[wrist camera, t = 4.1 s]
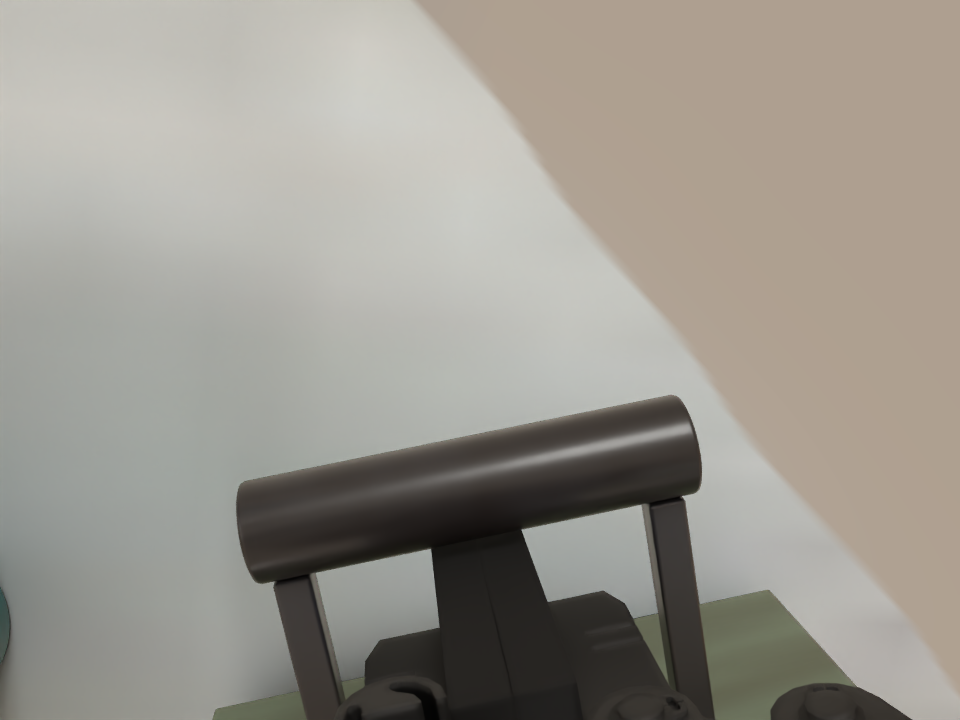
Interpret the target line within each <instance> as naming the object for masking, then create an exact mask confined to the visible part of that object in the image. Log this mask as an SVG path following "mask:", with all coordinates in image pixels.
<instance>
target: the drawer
mask: <svg viewBox="0 0 960 720" xmlns="http://www.w3.org/2000/svg"><path fill="white" fill-rule="evenodd" d="M701 481H702V462H701V454H700V448H699V443H698V439H697V435H696V432H695V428H694V425H693V423H692V420H691V417H690V415H689V413H688V411H687V409H686V407H685V405H684V404H683V402H682V401H681V399H680V398H679V397H677V396H674V395H668V396H663V397H658V398H653V399H648V400H643V401H638V402H633V403H628V404H623V405H618V406H613V407H608V408H604V409H599V410H594V411H589V412H584V413H579V414H574V415H569V416H564V417H559V418H554V419H549V420H544V421H539V422H534V423H529V424H525V425H520V426H515V427H510V428H505V429H500V430H495V431H490V432H485V433H480V434H475V435H470V436H465V437H460V438H455V439H450V440H446V441H441V442H436V443H431V444H426V445H421V446H416V447H411V448H406V449H401V450H396V451H391V452H386V453H381V454H376V455H371V456H367V457H362V458H357V459H352V460H347V461H342V462H337V463H332V464H327V465H322V466H317V467H312V468H307V469H302V470H297V471H292V472H288V473H283V474H278V475H273V476H268V477H263V478H258V479H253V480H248V481H244V482H243V483H241V484H240V486H239V488H238V492H237V500H236V516H237V527H238V534H239V540H240V545H241V549H242V553H243V557H244V560H245V563H246V566H247V568H248V571H249V573H250V574H251V576H252V578H253V580H254V581H255V582H257V583H260V584H264V583H269V582H274V581H275V583H274V587H273V588H274V592H275V596H276V600H277V604H278V608H279V612H280V616H281V620H282V624H283V628H284V632H285V636H286V640H287V644H288V648H289V652H290V656H291V660H292V664H293V668H294V672H295V676H296V680H297V684H298V688H299V691H297V692H292V693H288V694H283V695H278V696H274V697H269V698H265V699H260V700H255V701H251V702H246V703H242V704H237V705H232V706H228V707H223V708H218V709H216V711H215V714H214V717H213V720H333V719H334V717H335V714H336V712H337V709H338V707H339V706H340V705H341V704H342V703H343V702H344V701H345V700H346V699H347V698H348V697H349V696H350V695H351V694H353V693H355V692H357V691H358V690H360V689H362V688H364V686H365V682H364V680H365V677H362V678H357V679H352V680H348V681H343V682H341V678H340V673H339V669H338V665H337V661H336V657H335V652H334V648H333V644H332V640H331V636H330V631H329V627H328V623H327V619H326V615H325V611H324V606H323V602H322V598H321V594H320V590H319V585H318V581H317V577H316V573H317V572H322V571H326V570H331V569H336V568H341V567H345V566H350V565H355V564H360V563H365V562H369V561H374V560H379V559H384V558H389V557H393V556H398V555H403V554H408V553H412V552H417V551H422V550H427V549H432V548H436V547H441V546H446V545H451V544H455V543H460V542H465V541H470V540H475V539H479V538H484V537H489V536H494V535H499V534H503V533H508V532H513V531H518V530H522V529H527V528H532V527H537V526H542V525H546V524H551V523H556V522H561V521H565V520H570V519H575V518H580V517H585V516H589V515H594V514H599V513H604V512H609V511H613V510H618V509H623V508H628V507H632V506H637V505H642V510H643V516H644V523H645V530H646V536H647V543H648V550H649V556H650V563H651V570H652V576H653V583H654V590H655V596H656V603H657V610H658V614H653V615H648V616H644V617H639V618H635V619H633V620H634V621H635V625H637V627H638V629H639V631H640V632H641V634H642V636H643V640H645V642H646V644H647V645H648V647H649V649H650V651H651V653H652V655H653V656H654V658H655V660H656V662H657V664H658V666H659V667H660V669H661V671H662V673H663V675H664V677H665V679H666V680H667V682H668V684H669V686H670V688H671V689H672V690H675V691H677V692H679V693H681V694H684V695H686V696H687V697H688V698H689V699H690V700H691V701H692V702H693V703H694V704H695V705H696V706H697V708H698V710H699V712H700V713H701V715H702V716H704V717H706V718H711V719H715V720H771V714H770V710H771V708H772V706H773V705H774V703H775V702H776V700H777V698H778V697H780V696H781V695H783V694H785V693H786V692H788V691H789V690H791V689H793V688H796V687H800V686H804V685H808V684H812V683H839V684H844V685H848V686H853V687H857V686H856V685H855V684H854V683H853V682H852V681H851V680H850V679H849V678H848V677H847V675H846V674H845V673H844V672H843V671H842V670H841V669H840V668H839V667H838V665H837V664H836V663H835V662H834V661H833V660H832V659H831V658H830V657H829V656H828V654H827V653H826V652H825V651H824V650H823V649H822V648H821V647H820V646H819V644H818V643H817V642H816V641H815V640H814V639H813V638H812V637H811V636H810V635H809V633H808V632H807V631H806V630H805V629H804V628H803V627H802V626H801V625H800V623H799V622H798V621H797V620H796V619H795V618H794V617H793V616H792V615H791V614H790V612H789V611H788V610H787V609H786V608H785V607H784V606H783V605H782V604H781V602H780V601H779V600H778V599H777V598H776V597H775V596H774V595H773V594H772V593H771V591H770V590H764V591H759V592H755V593H750V594H746V595H741V596H736V597H732V598H727V599H722V600H718V601H713V602H709V603H704V604H699V597H698V590H697V583H696V576H695V568H694V561H693V554H692V547H691V539H690V532H689V525H688V518H687V511H686V503H685V500H684V499H683V498H682V496H685V495H690V494H694V493H696V492H697V491H698V490H699V489H700V486H701Z"/></svg>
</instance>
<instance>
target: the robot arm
mask: <svg viewBox="0 0 960 720" xmlns="http://www.w3.org/2000/svg"><path fill="white" fill-rule="evenodd" d="M431 552H432V561H433V570H434V579H435V588H436V597H437V606H438V616H439V625H440V628H436V629H431V630H426V631H422V632H417V633H412V634H407V635H403V636H398V637H393V638H388V639H383V640H380V641H379V642H378V644H377V645H376V646H375V648H374V649H373V651H372V652H371V654H370V655H369V657H368V658H367V660H366V661H365V680H364V682H365V686H364V688H362V689H360V690H358V691H357V692H355V693H353V694H351V695H350V696H349V697H348V698H347V699H346V700H345V701H344V702H343V703H342V704H341V705H340V706H339V707H338V709H337V712H336V714H335V717H334V719H333V720H715V719H711V718H706V717H704V716H702V715H701V713H700V712H699V710H698V708H697V706H696V705H695V704H694V703H693V702H692V701H691V700H690V699H689V698H688V697H687V696H686V695H684V694H681V693H679V692H677V691H675V690H672V689H671V688H670V686H669V684H668V682H667V680H666V679H665V677H664V675H663V673H662V671H661V669H660V667H659V666H658V664H657V662H656V660H655V658H654V656H653V655H652V653H651V651H650V649H649V647H648V645H647V644H646V642H645V640H643V636H642V634H641V632H640V631H639V629H638V627H637V625H635V621H634V620H633V618H632V616H631V614H630V612H629V610H628V609H627V607H626V605H625V603H623V602H621V601H620V600H618V599H616V598H615V597H613V596H611V595H610V594H608V593H606V592H605V591H600V592H595V593H590V594H585V595H581V596H576V597H571V598H566V599H562V600H557V601H552V602H547V599H546V597H545V594H544V591H543V588H542V586H541V583H540V580H539V577H538V575H537V572H536V569H535V566H534V564H533V561H532V558H531V556H530V553H529V550H528V547H527V545H526V542H525V539H524V536H523V534H522V531H521V530H518V531H513V532H508V533H503V534H499V535H494V536H489V537H484V538H479V539H475V540H470V541H465V542H460V543H455V544H451V545H446V546H441V547H436V548H432V549H431ZM770 714H771V720H912V719H910V718H909V717H907V716H906V715H904V714H903V713H901V712H900V711H898V710H897V709H895V708H894V707H893V706H891V705H890V704H888V703H887V702H885V701H884V700H882V699H881V698H879V697H877V696H875V695H873V694H871V693H869V692H867V691H865V690H863V689H861V688H858V687H853V686H848V685H844V684H839V683H812V684H808V685H804V686H800V687H796V688H793V689H791V690H789V691H788V692H786V693H785V694H783V695H781V696H780V697H778V698H777V700H776V702H775V703H774V705H773V706H772V708H771V710H770Z"/></svg>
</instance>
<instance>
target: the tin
mask: <svg viewBox="0 0 960 720" xmlns="http://www.w3.org/2000/svg"><path fill="white" fill-rule="evenodd" d="M9 629H10V623H9V612H8V608H7V604H6V600H5V597H4V595H3V592H2V590H1V588H0V664H1V662H2V660H3V658H4V655H5V652H6V649H7V645H8V640H9Z"/></svg>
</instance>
